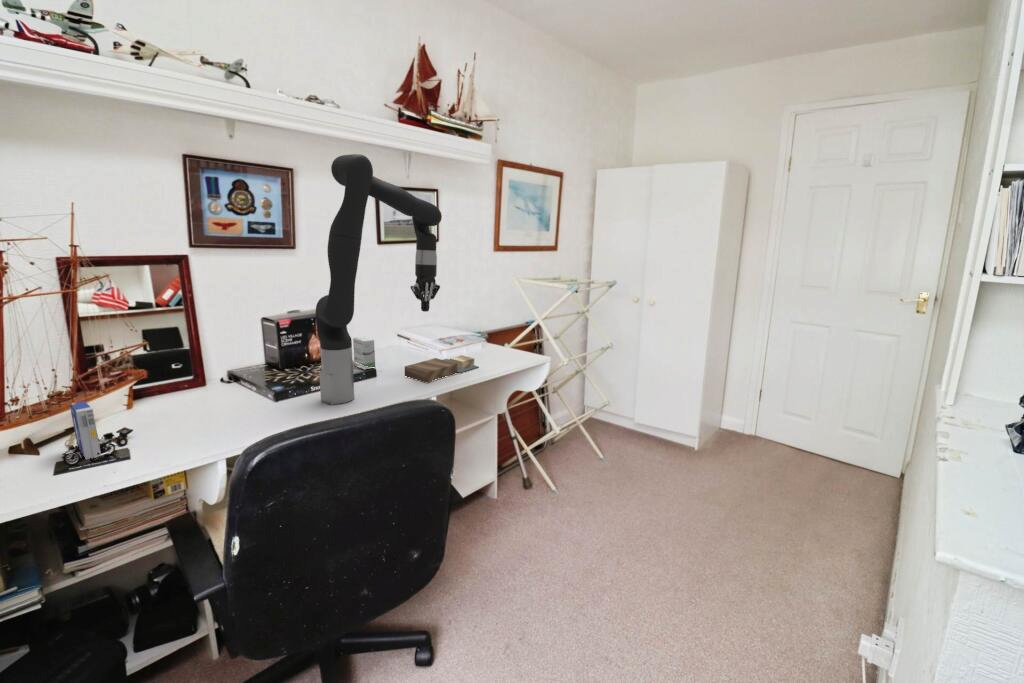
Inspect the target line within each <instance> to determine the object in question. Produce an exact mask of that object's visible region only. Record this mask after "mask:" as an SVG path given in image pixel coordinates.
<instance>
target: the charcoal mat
mask: <svg viewBox="0 0 1024 683" xmlns="http://www.w3.org/2000/svg"><path fill="white" fill-rule="evenodd" d="M443 360H445V361H449V362H450V358H449V359H448V358H445V359H443ZM479 368H480V367H479V365H478V366H477V365H475V364H474V366H471V367H467V368H464V369H461V368H458V374H459V373H461V374H464V373H463V372H465V373H467V371H468V372H470V370H471V371H473V370H477V369H479Z"/></svg>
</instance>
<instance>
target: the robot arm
mask: <svg viewBox="0 0 1024 683" xmlns="http://www.w3.org/2000/svg"><path fill="white" fill-rule="evenodd" d="M330 171H331V174H332V178H333V179H334V180H335V181H336V182H337V183H338V184H339V185H340V186H343V187H344V195H343V199H342V203H341V205H340V207H339V209H338V211H337V213H336V215H335V217H334V218H333V220H332V223H331V225H330V229H329V234H328V240H327V260H328V262H327V263H328V268H329V273H330V274H329V275H330V284H329V291H328V294H326V295H324V296H322V297H320V299H319V300H318V301H317V303H316V305H315V322H316V332H317V333H316V334H317V338H318V341H319V344H320V345H319V347H320V359H321V360H320V362H321V363H320V364H321V371H319V373H318V374H319V376H318V377H319V391H320V393H319V394H320V401H321V402H324V403H327V404H330V405H332V406H333V405H337V404H340V405H341V404H345V403H349V402H352V401H353V400H354V399H355V384H354V366H353V365H354V360H353V339H352V337H351V335H350V333H349V332H348V328H347V326H348V325H349V324H350V323H351V321H352V320H353V317H354V313H355V291H356V290H355V289H356V286H355V285H356V279H357V273H358V272H357V271H358V267H359V266H358V264H359V258H360V253H361V247H362V240H363V239H362V238H363V228H364V222H365V214H366V209H367V204H368V199H369V197H372V198H373V199H375V200H378V201H379V202H381V203H383V204H386V205H387V206H389V207H391V208H392V209H394V210H396V211H398V212H399V213H401V214H403V215H405V216H407V217H411V219H412V224H413V229H414V234H415V237H416V243H415V244H416V246H415V247H416V248H415V250H416V251H415V257H414V258H415V260H414V261H415V268H414V270H415V271H414V272H415V277H416V279H415V284H414V285H410V290H411V292H412V293H413V296H414V297H415V298H416V299H417V300H419V301H420V308H421V309H420V310H421V311H422V312H429V311H430V303H431V302H430V301H431V300H434V299H435V297H436V295H438V294H437V293H438V291H439V290H440V289H441V286H440V285H439V284H437V283H436V282H437V281H436V277H437V274H438V273H437V271H438V270H437V269H438V268H437V267H438V264H437V263H438V261H437V260H438V259H437V258H438V256H437V236H436V235H435V234H434V233H432V232H431V231H430V227H435V226H438V225H439V224H440V223H441V222H442V219H443V218H442V216H443V215H442V212H441V211H440V209H439V208H438V206H436V205H435V204H433V203H431V202H429V201H427V200H424V199H421V198H418V197H416V196H414V195H413V194H412V193H410V192H408V191H407V190H405V189H404V188H402V187H400V186H397V185H395V184H393V183H390V182H387V181H385V180H382V179H380V178H378V177H376V176H374V169H373V165H372V162H371V160H370V159H369V158H368V157H367V156H366V155H365V154H362V153H353V154H342V155H339V156H337V157H336V158H335V159H334V160H333V161H332V164H331V167H330ZM351 400H352V401H351Z"/></svg>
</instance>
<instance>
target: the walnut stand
mask: <svg viewBox="0 0 1024 683" xmlns="http://www.w3.org/2000/svg"><path fill="white" fill-rule="evenodd" d="M455 373H458V364H457V363H453V362H449V361H445V360H444V359H439V358H435V357H434V358H431V359H427V360H425V361H420V362H416V363H413V364H408V365H405V366H404V377H405V376H407V377H406V378H408V377H410V378H409V379H411V378H413V379H412V380H414V379H417V380H416V381H418V380H421V381H424V382H423V383H425V382H430V381H432V380H435V379H438V378H442V377H445V376H449V375H452V374H455ZM458 374H459V373H458ZM455 375H456V374H455ZM452 376H453V375H452ZM449 377H450V376H449ZM445 378H446V377H445ZM442 379H443V378H442ZM421 381H420V382H421ZM430 383H431V382H430Z"/></svg>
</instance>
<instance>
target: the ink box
mask: <svg viewBox="0 0 1024 683" xmlns="http://www.w3.org/2000/svg"><path fill="white" fill-rule="evenodd" d="M352 348H353V363H354V362H357V363H359V364H362V365H364V366H368V367H375V368H376V353H375V352H376V351H375V339H372V338H369V337H366V336H359V337H358V336H357V337H353V338H352Z"/></svg>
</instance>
